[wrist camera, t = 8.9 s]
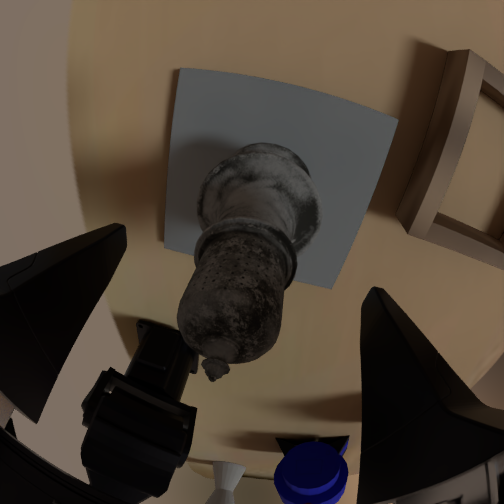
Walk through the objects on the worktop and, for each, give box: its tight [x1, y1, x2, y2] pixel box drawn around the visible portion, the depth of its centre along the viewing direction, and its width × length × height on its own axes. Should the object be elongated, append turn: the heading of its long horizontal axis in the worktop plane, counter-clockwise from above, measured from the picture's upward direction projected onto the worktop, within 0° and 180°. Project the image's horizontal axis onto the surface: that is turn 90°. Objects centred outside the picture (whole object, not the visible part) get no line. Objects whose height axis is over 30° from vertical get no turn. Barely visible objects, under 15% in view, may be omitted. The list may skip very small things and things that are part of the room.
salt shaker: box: [177, 143, 323, 382], centre depth 11 cm, size 6×6×12 cm
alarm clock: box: [274, 435, 350, 504], centre depth 33 cm, size 12×12×15 cm
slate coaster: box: [164, 68, 399, 289], centre depth 16 cm, size 12×12×1 cm
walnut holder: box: [396, 49, 504, 270], centre depth 12 cm, size 11×11×2 cm
